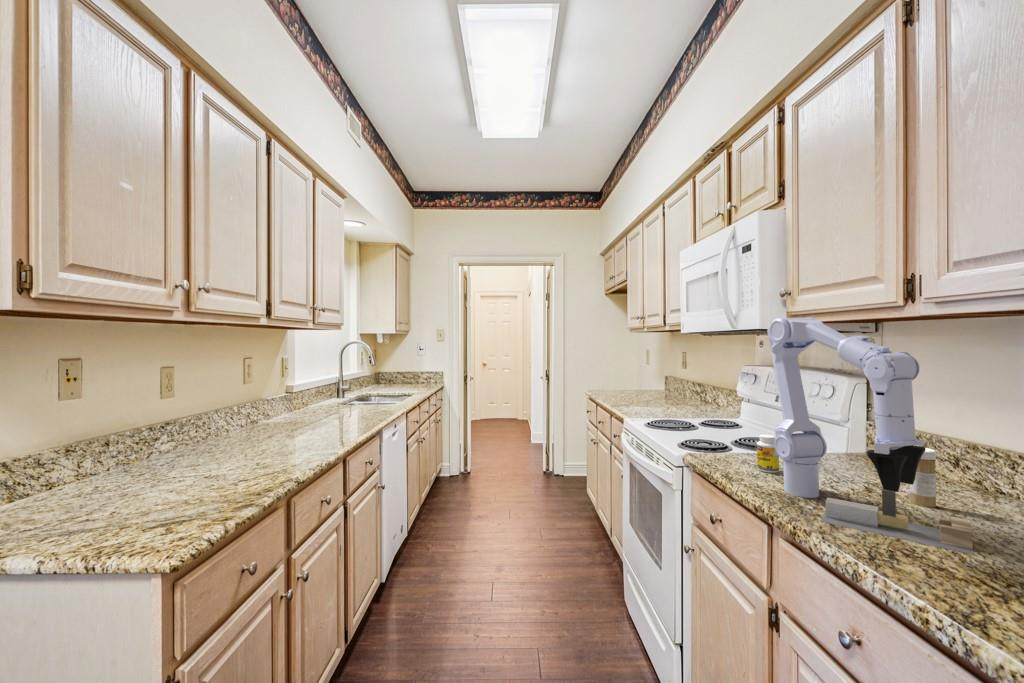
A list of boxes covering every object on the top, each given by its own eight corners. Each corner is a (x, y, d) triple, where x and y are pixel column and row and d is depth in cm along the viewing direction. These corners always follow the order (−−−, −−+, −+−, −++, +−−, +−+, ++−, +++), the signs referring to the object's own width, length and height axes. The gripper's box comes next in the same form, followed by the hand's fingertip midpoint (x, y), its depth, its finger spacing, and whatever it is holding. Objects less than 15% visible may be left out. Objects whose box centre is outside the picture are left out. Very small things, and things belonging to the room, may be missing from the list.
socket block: (939, 533, 84) (939, 514, 84) (969, 539, 81) (969, 520, 81) (941, 542, 80) (940, 523, 80) (972, 549, 77) (972, 529, 77)
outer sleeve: (827, 512, 95) (827, 497, 95) (878, 522, 89) (878, 506, 89) (825, 516, 93) (825, 501, 93) (877, 527, 87) (877, 511, 87)
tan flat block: (830, 510, 94) (829, 479, 94) (908, 526, 86) (907, 491, 86) (828, 513, 93) (828, 481, 93) (908, 529, 84) (907, 494, 84)
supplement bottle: (753, 469, 129) (752, 435, 129) (765, 466, 131) (764, 433, 131) (771, 474, 124) (770, 438, 124) (783, 471, 126) (782, 436, 126)
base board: (827, 511, 98) (827, 506, 98) (968, 539, 83) (968, 534, 83) (820, 526, 90) (820, 521, 90) (974, 560, 76) (974, 554, 76)
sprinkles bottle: (909, 502, 101) (908, 445, 101) (937, 507, 98) (935, 448, 98) (909, 508, 98) (908, 449, 98) (937, 514, 95) (936, 452, 95)
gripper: (907, 421, 76) (912, 499, 76) (934, 413, 84) (939, 484, 84) (858, 417, 82) (863, 489, 82) (888, 410, 90) (893, 476, 90)
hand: (898, 486), depth 83 cm, fingers open, 7 cm apart
